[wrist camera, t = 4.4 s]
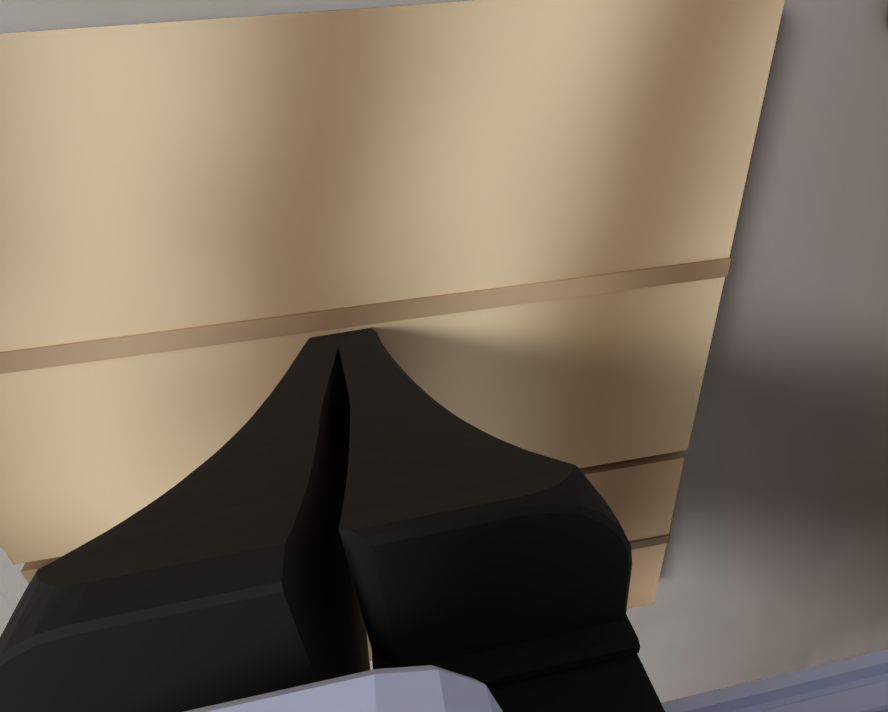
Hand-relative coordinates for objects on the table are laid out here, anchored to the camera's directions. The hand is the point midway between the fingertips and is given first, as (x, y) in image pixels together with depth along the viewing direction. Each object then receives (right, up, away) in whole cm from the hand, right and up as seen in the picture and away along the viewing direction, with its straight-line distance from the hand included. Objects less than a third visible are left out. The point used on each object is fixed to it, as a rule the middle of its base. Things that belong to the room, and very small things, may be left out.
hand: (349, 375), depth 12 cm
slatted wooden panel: (0, +2, 0) cm, 2 cm away
